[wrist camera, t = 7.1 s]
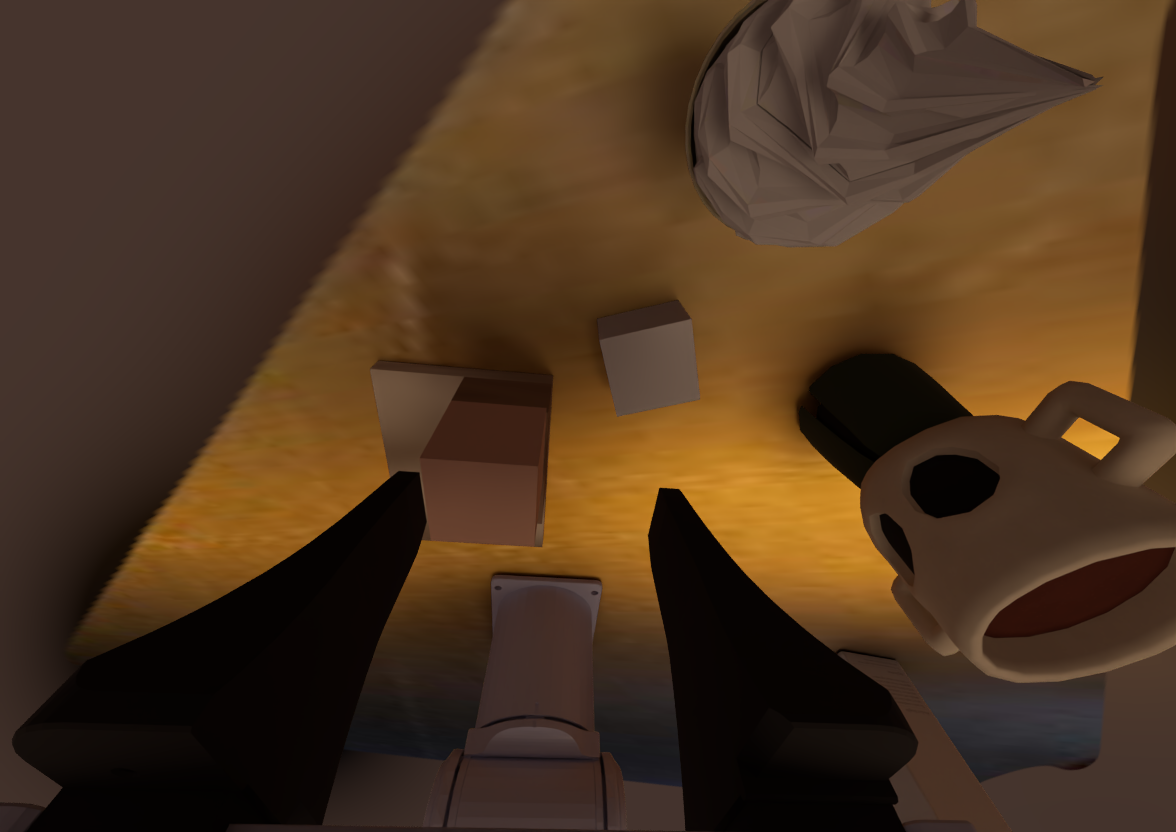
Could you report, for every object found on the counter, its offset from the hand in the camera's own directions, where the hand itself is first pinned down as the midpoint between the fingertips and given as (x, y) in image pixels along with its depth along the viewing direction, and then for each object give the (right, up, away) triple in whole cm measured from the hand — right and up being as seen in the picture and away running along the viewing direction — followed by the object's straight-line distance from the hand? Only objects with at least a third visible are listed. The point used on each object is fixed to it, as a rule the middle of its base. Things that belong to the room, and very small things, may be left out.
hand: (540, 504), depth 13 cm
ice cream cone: (+6, +14, +4) cm, 16 cm away
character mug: (+16, +4, +11) cm, 20 cm away
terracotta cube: (-3, +1, +7) cm, 8 cm away
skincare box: (+25, -19, +25) cm, 40 cm away
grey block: (+4, +6, +9) cm, 12 cm away
